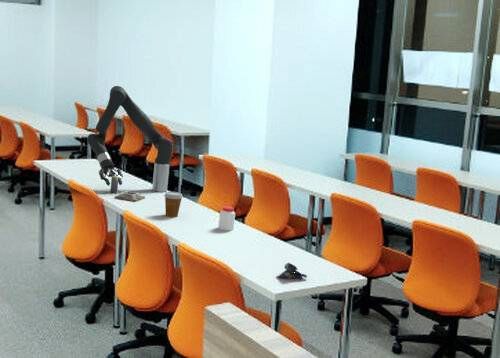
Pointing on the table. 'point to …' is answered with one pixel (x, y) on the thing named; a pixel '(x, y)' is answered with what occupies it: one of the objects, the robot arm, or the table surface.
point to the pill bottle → (226, 218)
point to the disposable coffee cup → (172, 203)
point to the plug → (114, 184)
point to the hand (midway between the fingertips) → (115, 184)
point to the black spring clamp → (291, 272)
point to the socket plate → (130, 196)
